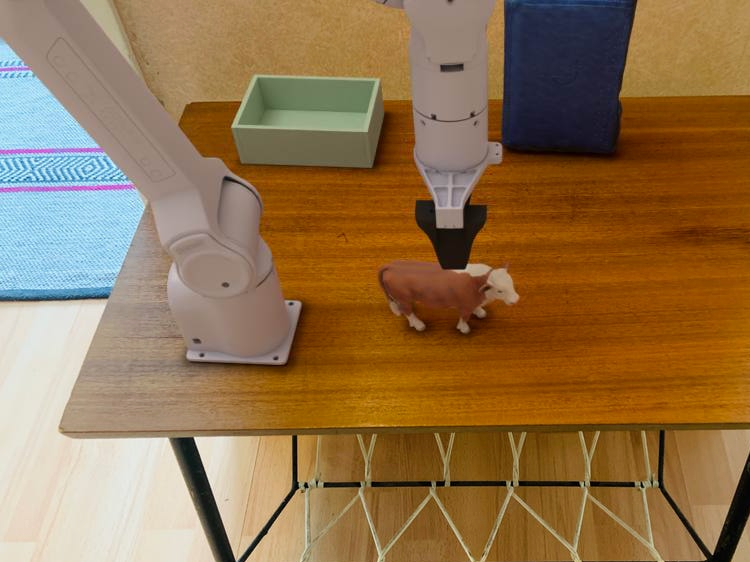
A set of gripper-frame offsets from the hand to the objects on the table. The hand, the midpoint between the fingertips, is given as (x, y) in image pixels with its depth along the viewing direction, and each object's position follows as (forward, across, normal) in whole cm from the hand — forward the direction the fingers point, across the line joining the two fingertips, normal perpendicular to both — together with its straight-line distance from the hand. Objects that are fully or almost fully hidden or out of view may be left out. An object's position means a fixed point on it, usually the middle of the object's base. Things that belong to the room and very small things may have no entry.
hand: (455, 236), depth 69 cm
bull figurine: (+11, -1, +1) cm, 11 cm away
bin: (+10, +30, +18) cm, 36 cm away
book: (+11, +28, -12) cm, 32 cm away
